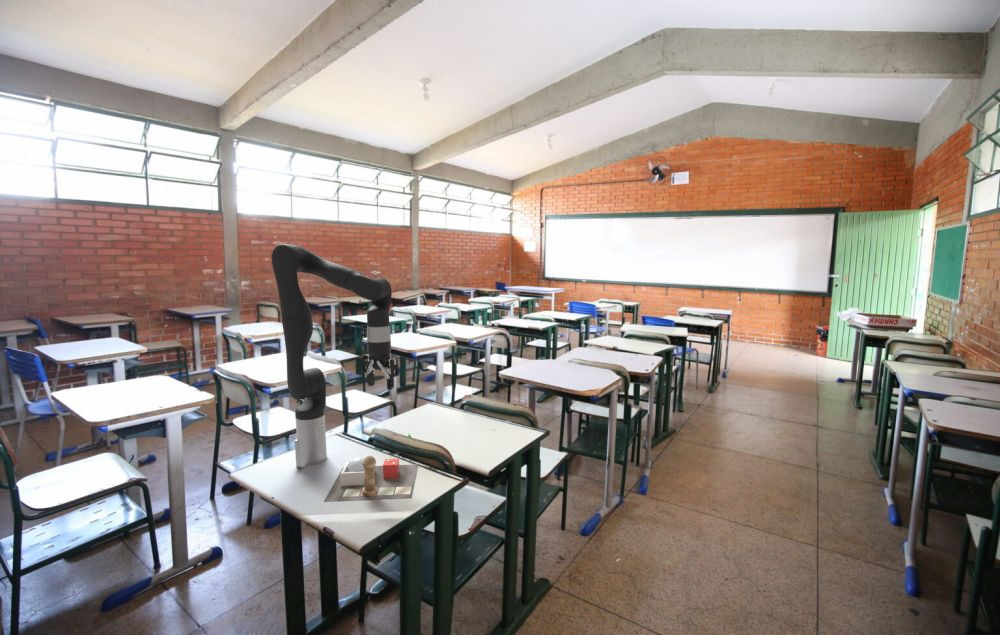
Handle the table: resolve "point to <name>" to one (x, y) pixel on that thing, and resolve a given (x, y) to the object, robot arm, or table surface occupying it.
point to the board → (385, 487)
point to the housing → (351, 477)
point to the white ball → (356, 465)
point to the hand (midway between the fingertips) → (380, 387)
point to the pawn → (369, 476)
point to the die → (391, 468)
